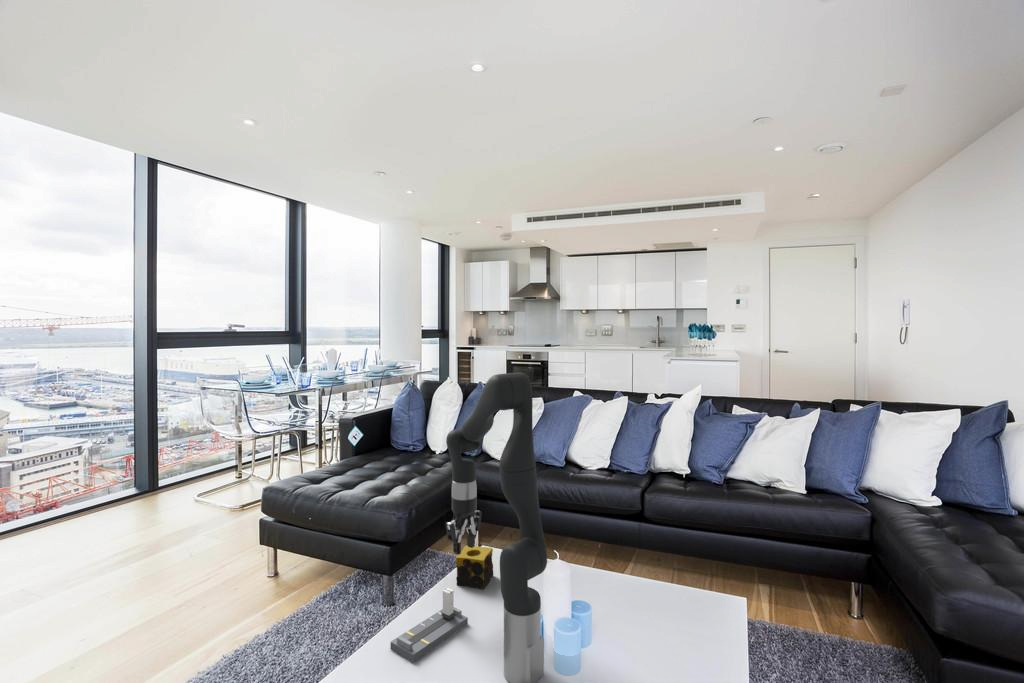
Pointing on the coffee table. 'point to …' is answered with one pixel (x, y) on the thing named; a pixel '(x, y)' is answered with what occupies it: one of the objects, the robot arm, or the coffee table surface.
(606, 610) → the coffee table surface
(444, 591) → the fader
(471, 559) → the candle
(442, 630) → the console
